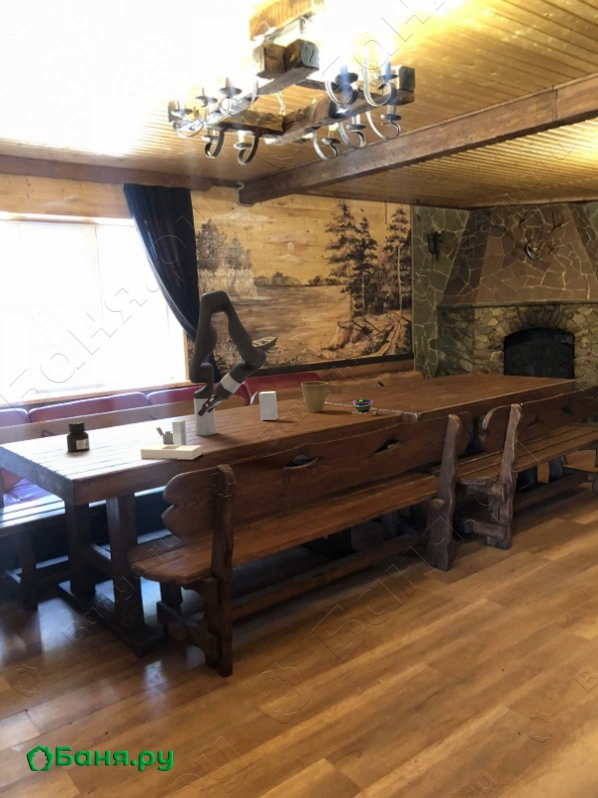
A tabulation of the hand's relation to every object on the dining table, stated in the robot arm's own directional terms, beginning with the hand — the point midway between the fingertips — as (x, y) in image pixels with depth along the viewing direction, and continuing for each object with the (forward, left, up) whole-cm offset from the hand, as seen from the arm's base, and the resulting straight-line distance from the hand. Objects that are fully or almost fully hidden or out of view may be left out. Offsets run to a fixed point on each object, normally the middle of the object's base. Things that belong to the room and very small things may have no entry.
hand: (203, 413), depth 260 cm
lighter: (-10, -23, -16) cm, 30 cm away
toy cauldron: (-93, +52, -16) cm, 108 cm away
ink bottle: (+7, -55, -16) cm, 58 cm away
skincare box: (-71, +6, -16) cm, 73 cm away
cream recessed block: (+12, -9, -15) cm, 22 cm away
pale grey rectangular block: (0, -11, -15) cm, 19 cm away
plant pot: (-100, +24, -16) cm, 104 cm away
